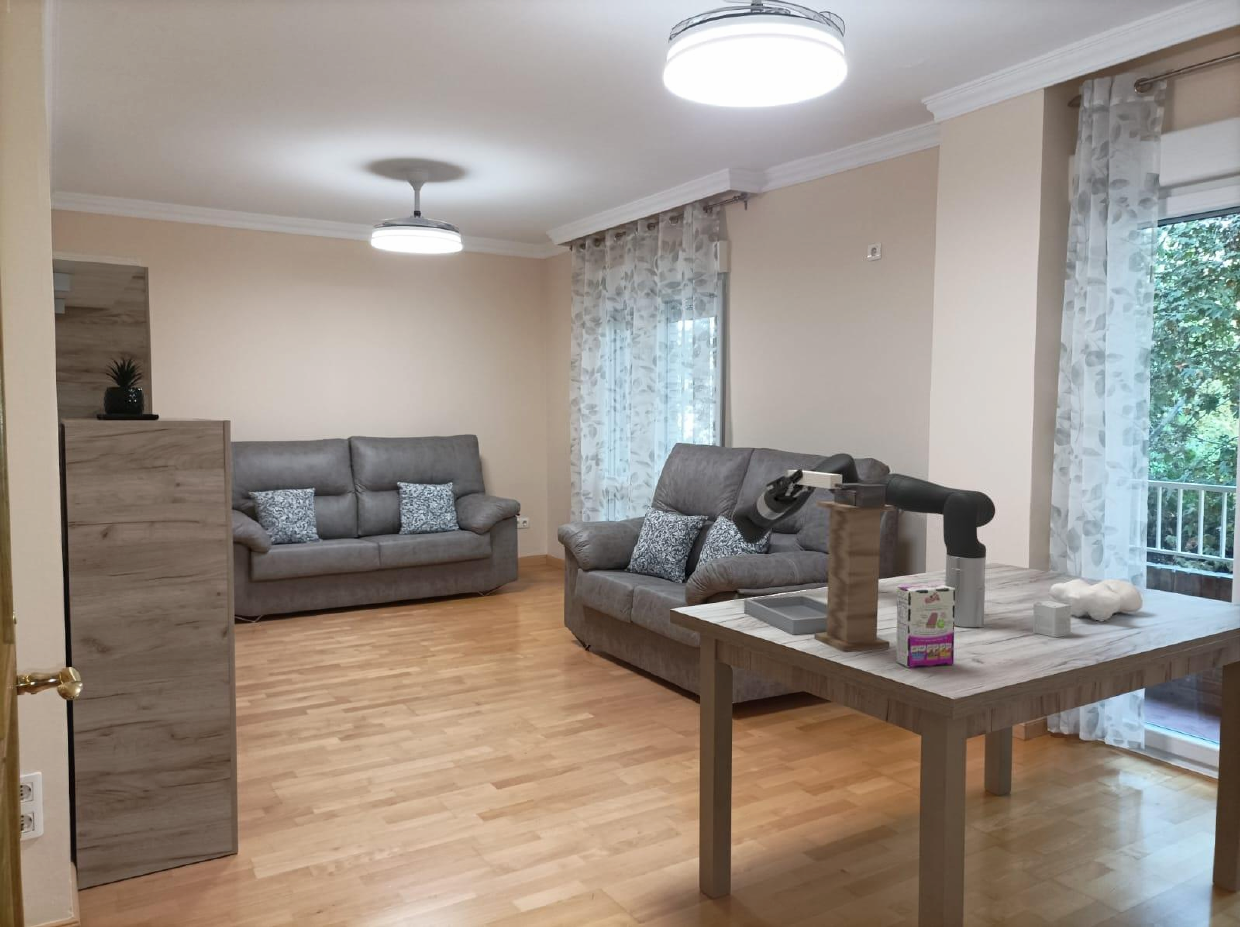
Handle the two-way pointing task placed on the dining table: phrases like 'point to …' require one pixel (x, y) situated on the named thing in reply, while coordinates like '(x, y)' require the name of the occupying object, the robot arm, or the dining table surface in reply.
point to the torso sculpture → (1098, 597)
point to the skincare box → (1052, 619)
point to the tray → (790, 613)
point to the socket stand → (854, 567)
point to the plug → (818, 479)
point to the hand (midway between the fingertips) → (808, 472)
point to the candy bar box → (925, 625)
